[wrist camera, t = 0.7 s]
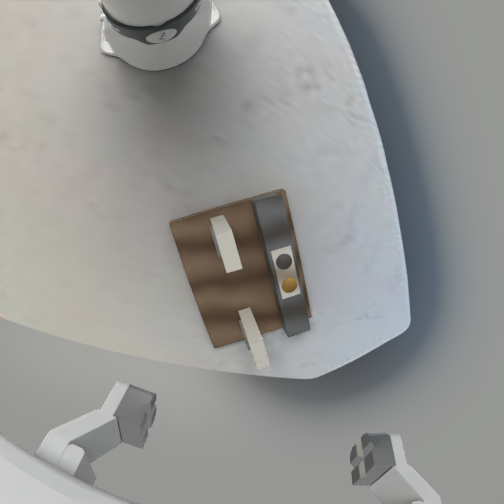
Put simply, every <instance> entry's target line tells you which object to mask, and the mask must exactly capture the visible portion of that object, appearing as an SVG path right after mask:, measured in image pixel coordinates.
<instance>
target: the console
mask: <svg viewBox="0 0 504 504" xmlns="http://www.w3.org/2000/svg"><path fill="white" fill-rule="evenodd" d="M220 215H224V217H225V219H226V221H227V222H228V224H229V226H230V228H231V230H232V233H233V236H234V240H235V243H236V247H237V251H238V254H239V258H240V261H241V265H242V269H239V270H236V271H233V272H229V273H227V272H226V269H225V266H224V263H223V260H222V257H218V253H217V250H216V247H215V243H214V240H213V237H212V233H211V230H210V226H212V223H211V220H210V218H213V217H217V216H220ZM169 224H170V227H171V230H172V233H173V236H174V239H175V242H176V245H177V248H178V251H179V254H180V257H181V260H182V263H183V266H184V268H185V271H186V274H187V277H188V280H189V283H190V285H191V288H192V291H193V294H194V296H195V299H196V302H197V305H198V307H199V310H200V313H201V315H202V318H203V321H204V323H205V326H206V328H207V331H208V334H209V336H210V339H211V341H212V344H213V346H214V348H217V347H221V346H224V345H227V344H231V343H234V342H237V341H241V340H244V335H243V332H242V329H241V326H240V323H239V320H241V318H240V315H239V312H238V311H240V310H243V309H246V308H249V307H250V309H251V311H252V314H253V316H254V319H255V321H256V324H257V326H258V328H259V331H260V333H261V334H263V333H266V332H269V331H272V330H275V329H278V328H281V327H283V329H284V331H285V333H286V334H287V336H288V337H291V336H294V335H297V334H299V333H302V332H305V331H308V330H310V325H309V319H308V318H310V317H311V312H310V306H309V301H308V296H307V291H306V286H305V281H304V276H303V271H302V266H301V261H300V256H299V251H298V246H297V242H296V237H295V232H294V228H293V223H292V219H291V214H290V210H289V205H288V201H287V196H286V192H285V190H284V189H280V190H276V191H272V192H269V193H265V194H261V195H258V196H254V197H251V198H247V199H244V200H240V201H237V202H233V203H230V204H226V205H223V206H219V207H216V208H213V209H209V210H206V211H203V212H199V213H196V214H193V215H189V216H186V217H183V218H180V219H177V220H173V221H170V223H169Z"/></svg>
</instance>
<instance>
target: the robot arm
mask: <svg viewBox="0 0 504 504" xmlns="http://www.w3.org/2000/svg"><path fill="white" fill-rule="evenodd" d="M99 6H100V8H102V9H103V13H102V14H100V21H101V22H102V31H101V50H102V52H103V53H105V54H107V55H111V56H117V57H120V58H121V59H123V60H124V61H125V62H127V63H128V64H130V65H131V66H133V67H136V68H139V69H143V70H151V71H156V70H164V69H168V68H172V67H175V66H177V65H179V64H181V63H183V62H185V61H186V60H188V59H189V58H190V57H191V56H193V55H194V54H195V53H196V52H197V50H198V49H199V48H200V46H201V45H202V43H203V41H204V39H205V37H206V35H207V33H208V31H209V30H210V29H212V28H213V27H214V26H215V25H216V24H217V23H218V22H219V21H220V13H219V12H218V10H217V8H216V6H215V5H214V3H213V1H212V0H99ZM211 11H212V12H211ZM155 401H156V393H153V392H150V391H147V390H144V389H141V388H139V387H136V386H133V385H130V384H128V383H125V382H122V381H120V380H119V381H117V382H116V383H115V385H114V387H113V388H112V390H111V392H110V394H109V395H108V397H107V399H106V401H105V403H104V404H103V406H102V408H101V409H100V410H98V409H96V410H94V411H91V412H90V413H87V414H85V415H83V416H81V417H79V418H77V419H75V420H72V421H70V422H68V423H66V424H63V425H61V426H59V427H57V428H54V429H52V430H50V431H49V432H48V434H47V435H46V437H45V439H44V440H43V442H42V444H41V445H40V447H39V449H38V450H37V452H36V453H35V455H34V454H32V453H30V452H29V451H27V450H26V449H24V448H22V447H21V446H19V445H18V444H16V443H15V442H13V441H12V440H10V439H9V438H7V437H6V436H4V435H3V434H2V433H0V504H138V503H135V502H132V501H129V500H127V499H124V498H121V497H119V496H116V495H114V494H111V493H109V492H106V491H104V490H102V489H99V488H97V487H95V486H93V484H94V482H95V479H96V476H95V474H94V472H93V470H92V468H91V465H90V463H91V462H93V461H95V460H96V459H98V458H99V457H101V456H102V455H104V454H105V453H107V452H109V451H110V450H112V449H113V448H115V447H116V446H118V445H119V444H121V443H122V442H124V443H127V444H130V445H133V446H136V447H139V448H143V446H144V444H145V441H146V439H147V436H148V428H150V427H151V426H152V424H153V421H154V418H155V414H156V405H155ZM350 463H351V464H352V466H353V467H354V469H353V471H352V472H351V474H352V484H353V485H371V488H372V490H373V491H374V493H375V494H376V496H377V497H378V498H379V500H380V501H381V503H382V504H442V503H441V498H440V496H439V495H438V494H437V493H436V492H435V491H434V490H433V489H432V488H431V487H430V486H429V485H428V484H427V483H426V481H425V480H424V479H423V478H422V477H421V476H420V475H419V474H418V473H417V472H416V471H415V470H414V469H413V468H412V467H411V466H410V465H407V462H406V458H405V454H404V449H403V445H402V441H401V437H400V435H399V434H387V433H365V434H363V436H362V437H361V441H360V442H358V443H356V444H355V445H354V447H353V448H352V450H351V454H350Z"/></svg>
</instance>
